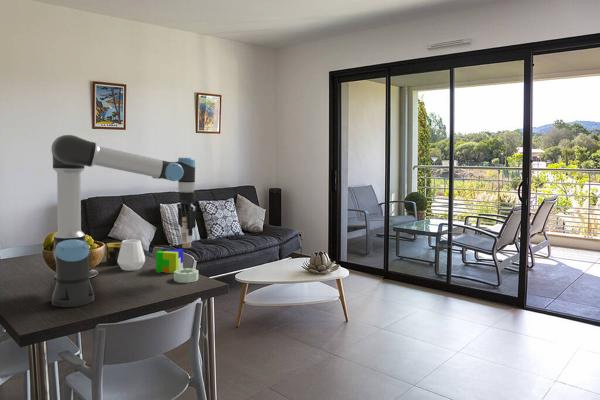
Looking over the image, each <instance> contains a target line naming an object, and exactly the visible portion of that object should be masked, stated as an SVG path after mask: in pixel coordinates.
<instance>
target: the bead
mask: <svg viewBox="0 0 600 400" xmlns="http://www.w3.org/2000/svg"><path fill="white" fill-rule="evenodd" d="M198 280H199V270H198V269H195V268H187V267H183V269H178V270H176V271H174V273H173V281H174V282H177V283H183V284H185V283H186V284H189V283H193V282H197V281H198Z"/></svg>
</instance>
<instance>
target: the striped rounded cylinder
mask: <svg viewBox="0 0 600 400" xmlns="http://www.w3.org/2000/svg"><path fill="white" fill-rule="evenodd" d="M186 228H187V219H186V217H182V241H181V242H182V244H181V246H182V247H181V248H182V249H190V248H192V242H191V243H186Z"/></svg>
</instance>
